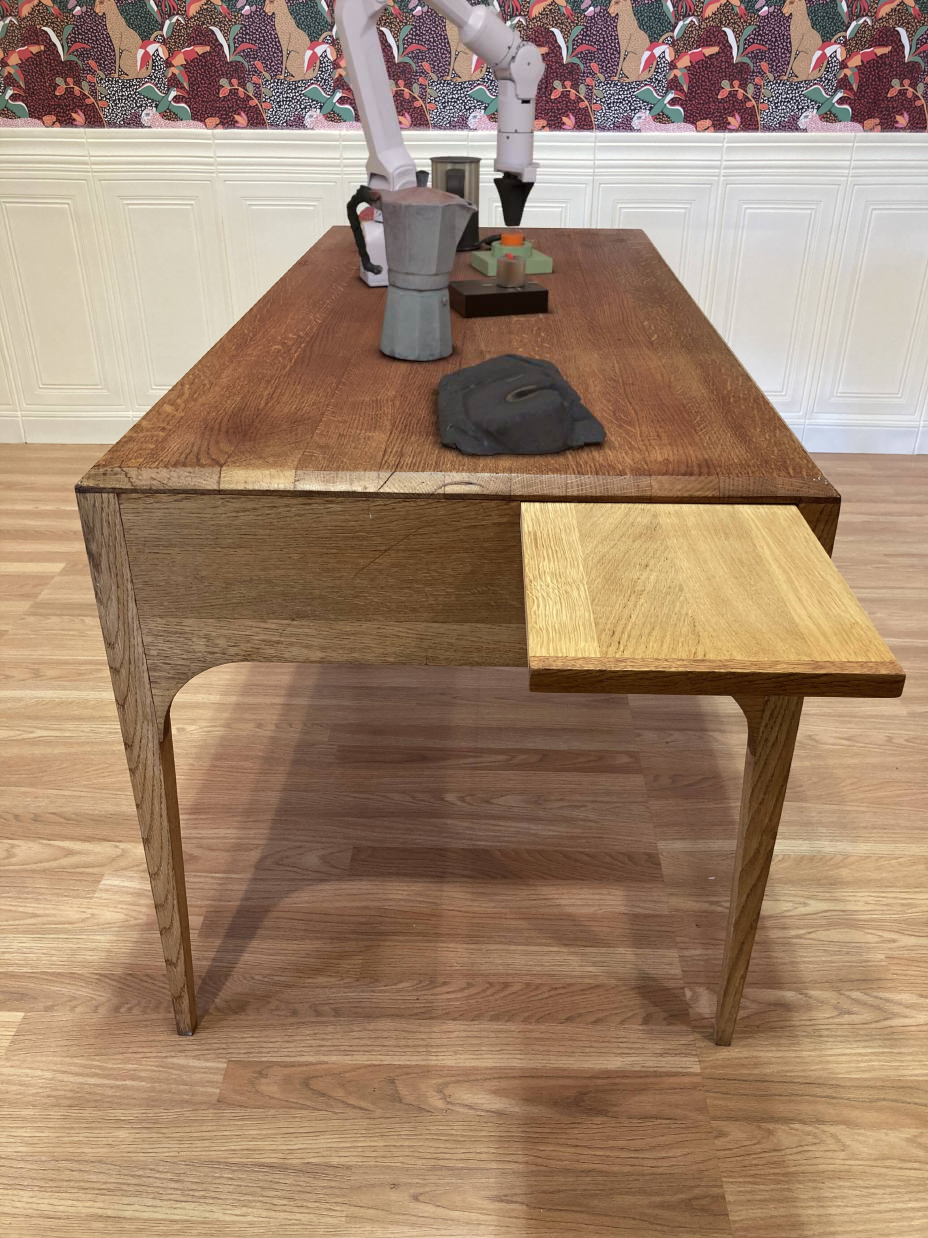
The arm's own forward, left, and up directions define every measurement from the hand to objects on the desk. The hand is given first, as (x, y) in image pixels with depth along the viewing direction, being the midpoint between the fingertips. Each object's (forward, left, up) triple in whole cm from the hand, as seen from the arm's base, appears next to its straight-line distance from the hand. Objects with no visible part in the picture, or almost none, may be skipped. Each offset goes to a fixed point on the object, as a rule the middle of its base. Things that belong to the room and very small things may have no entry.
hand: (512, 225), depth 155 cm
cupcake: (-16, +26, -7) cm, 31 cm away
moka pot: (-28, -44, -7) cm, 53 cm away
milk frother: (0, +19, -7) cm, 20 cm away
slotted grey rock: (-24, -69, -7) cm, 73 cm away
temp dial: (-9, -25, -4) cm, 27 cm away
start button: (0, 0, -3) cm, 3 cm away
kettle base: (0, 0, -7) cm, 7 cm away
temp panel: (-11, -25, -7) cm, 28 cm away
